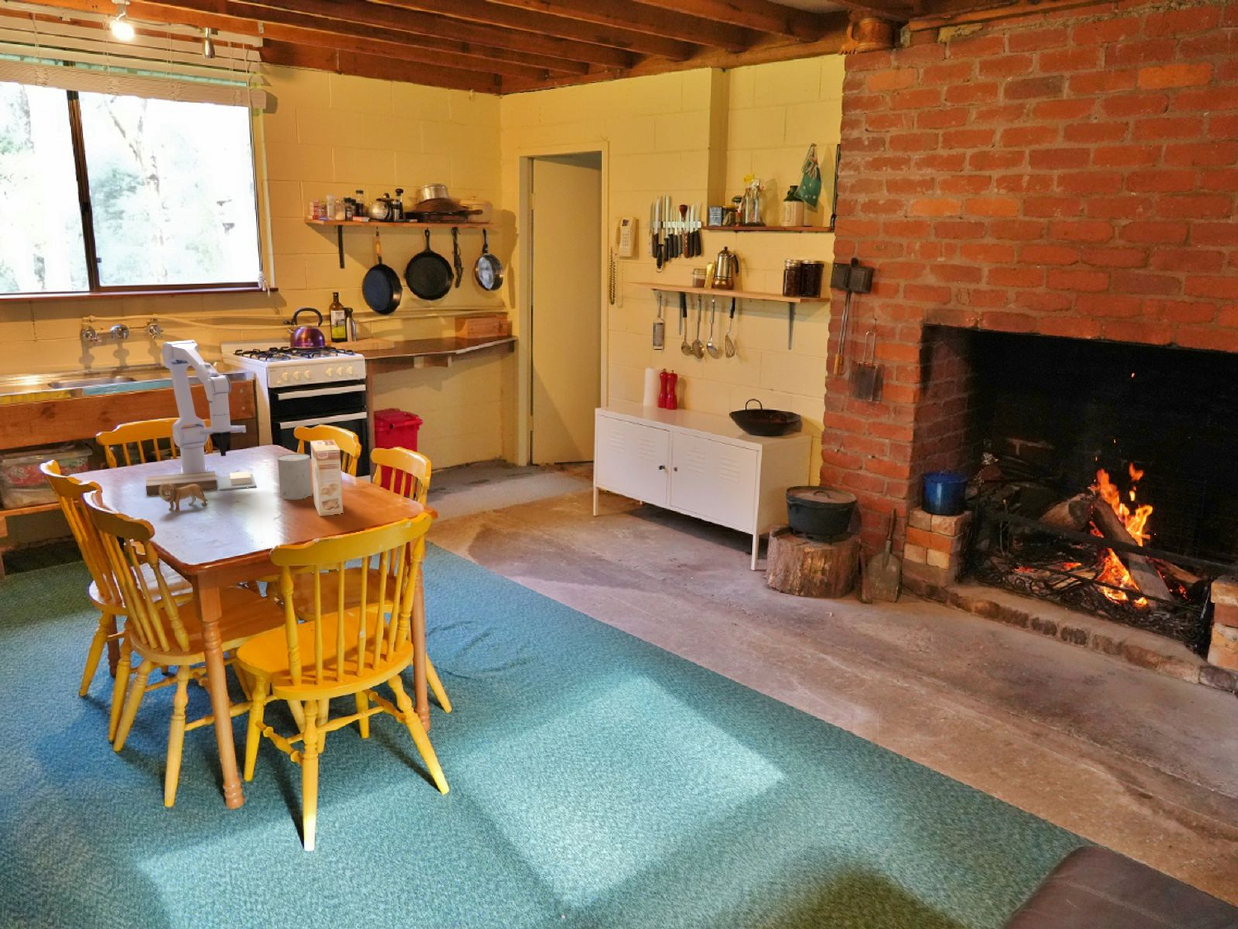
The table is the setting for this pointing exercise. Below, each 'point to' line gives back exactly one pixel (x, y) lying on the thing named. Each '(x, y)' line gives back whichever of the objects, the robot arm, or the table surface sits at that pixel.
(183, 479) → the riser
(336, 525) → the table surface
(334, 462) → the coffeecake box
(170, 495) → the lion figurine
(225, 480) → the mat
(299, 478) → the grey cylinder
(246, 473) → the tile
